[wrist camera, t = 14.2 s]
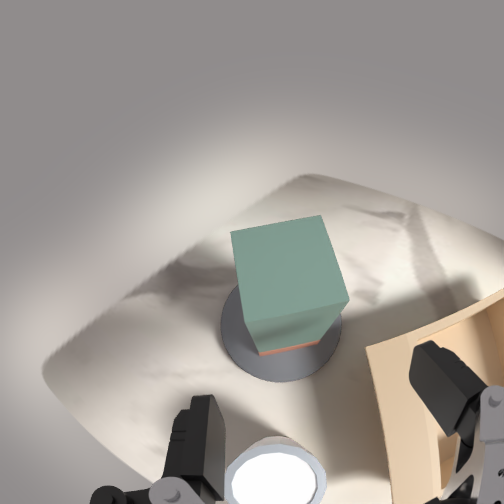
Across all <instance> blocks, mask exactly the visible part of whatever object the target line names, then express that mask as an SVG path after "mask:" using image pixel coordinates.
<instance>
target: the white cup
mask: <svg viewBox="0 0 504 504" xmlns="http://www.w3.org/2000/svg"><path fill="white" fill-rule="evenodd" d="M326 488H327V482H326V471H325V470H324V469H323V467H322V466H321V464H320V463H319V461H318V460H317V458H316V457H315V456H314V455H312V454H311V453H310V452H309V451H307V450H306V449H305V448H304V447H303V446H301V445H300V444H299V443H297V442H296V441H294V440H292V439H291V438H287V437H282V436H272V437H265V438H263V439H261V440H259V441H257V442H255V443H254V444H253V445H251V446H250V447H249V448H248V449H246V450H245V451H244V452H243V453H241V454H240V455H239V456H238V457H237V458H236V459H235V460H234V461H233V462H232V463H231V464H230V465H229V466H228V468H227V470H226V473H225V482H224V496H225V499H226V500H227V501H228V503H229V504H319V503H320V502H321V500H322V498H323V495H324V493H325V491H326Z"/></svg>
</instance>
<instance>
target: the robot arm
mask: <svg viewBox="0 0 504 504" xmlns="http://www.w3.org/2000/svg"><path fill="white" fill-rule="evenodd" d="M409 381H410V384H411V386H412V387H413V389H414V390H415V392H416V393H417V394H418V396H419V397H420V398H421V400H422V401H423V403H424V404H425V405H426V407H427V408H428V410H429V411H430V413H431V414H432V415H433V417H434V418H435V420H436V421H437V423H438V424H439V425H440V427H441V428H442V430H443V431H444V433H445V434H446V436H447V437H450V436H451V435H453V434H455V433H456V432H457V433H458V434H459V437H458V439H457V445H456V452H455V458H454V463H453V468H452V473H451V477H450V480H449V482H448V484H447V486H446V488H445V490H444V492H443V495H442V498H441V500H439V499H438V497H435V498H433V499H431V500H430V501H428V502H426V503H424V504H504V387H502V386H498V385H493V386H487V385H486V384H485V383H484V382H483V381H482V380H481V379H480V378H479V377H478V375H477V374H476V373H475V372H474V371H473V370H472V369H471V368H470V367H469V366H466V364H465V363H464V362H463V361H462V360H460V358H459V357H458V356H457V355H456V354H455V353H454V352H453V351H451V350H449V349H446V348H444V347H442V348H440V347H439V346H438V345H437V344H436V343H435V342H434V341H432V340H429V341H426V342H424V343H422V344H419V345H417V346H415V347H414V349H413V354H412V359H411V365H410V370H409ZM224 482H225V424H224V420H223V417H222V415H221V412H220V410H219V407H218V405H217V403H216V400H215V398H214V396H213V395H212V394H211V395H200V396H193V397H192V400H191V405H190V409H188V410H181V411H180V412H179V414H178V415H177V417H176V418H175V419H174V423H173V427H172V433H171V437H170V442H169V446H168V451H167V456H166V461H165V467H164V472H163V475H162V477H161V479H159V480H158V481H156V482H155V483H154V484H153V485H152V486H151V488H148V489H144V490H138V491H131V492H123V491H121V490H120V489H118V488H117V487H114V486H102V487H100V488H98V489H97V490H95V492H94V493H93V494H92V497H91V500H90V504H215V501H224Z"/></svg>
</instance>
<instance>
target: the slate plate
mask: <svg viewBox="0 0 504 504" xmlns="http://www.w3.org/2000/svg"><path fill="white" fill-rule="evenodd" d="M341 325H342V323H341V314H339V315H338V317H337V318H336V319H335V321H334V322H333V323H332V325H331V326H330V327H329V329H328V330H327V331H326V333H325V334H324V335H323V336H322V338H321V339H320V342H319V343H318V344H317V345H313V346H308V347H304V348H299V349H295V350H290V351H286V352H281V353H276V354H271V355H265V356H260V355H259V353H258V349H257V347H256V345H255V343H254V341H253V339H252V337H251V335H250V333H249V331H248V329H247V326H246V324H245V321H244V315H243V309H242V303H241V297H240V291H239V285H237V286H236V287H235V289H234V290H233V291H232V292H231V294H230V295H229V297H228V299H227V301H226V303H225V306H224V308H223V312H222V317H221V333H222V338H223V342H224V345H225V347H226V349H227V351H228V353H229V355H230V356H231V358H232V359H233V360H234V361H235V362H236V364H237V365H238V366H239V367H241V368H242V369H243V370H244V371H246V372H247V373H249V374H251V375H252V376H254V377H257V378H259V379H262V380H265V381H270V382H291V381H295V380H299V379H302V378H304V377H307V376H309V375H310V374H312V373H314V372H316V371H317V370H318V369H319V368H321V367H322V366H323V365H324V364H325V363H326V362H327V361H328V360H329V358H330V357H331V356H332V354H333V352H334V351H335V349H336V347H337V344H338V342H339V338H340V334H341Z"/></svg>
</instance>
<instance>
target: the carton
mask: <svg viewBox="0 0 504 504" xmlns="http://www.w3.org/2000/svg"><path fill="white" fill-rule="evenodd" d="M429 340H432V341H434V342H435V343H436V344H437V345H438V346H439V347H440V348H442V347H444V348H446V349H449V350H451V351H453V352H454V353H455V354H456V355H457V356H458V357H459V358H460V360H462V361H463V362H464V363H465V364H466V366H469V367H470V368H471V369H472V370H473V371H474V372H475V373H476V374H477V375H478V377H479V378H480V379H481V380H482V381H483V382H484V383H485V384H486V385H487V386H493V385H498V386H502V387H504V288H503V289H501V290H499V291H498V292H496V293H494V294H492V295H490V296H488V297H486V298H485V299H483V300H481V301H479V302H477V303H475V304H473V305H471V306H469V307H467V308H465V309H462V310H460V311H458V312H456V313H454V314H452V315H449V316H447V317H445V318H443V319H440V320H438V321H436V322H433V323H431V324H428V325H426V326H423V327H421V328H418V329H416V330H413V331H411V332H408V333H405V334H403V335H400V336H397V337H394V338H392V339H389V340H386V341H383V342H380V343H377V344H374V345H371V346H367V347H365V352H366V356H367V360H368V364H369V368H370V372H371V377H372V381H373V385H374V390H375V394H376V399H377V404H378V409H379V414H380V419H381V424H382V430H383V435H384V441H385V447H386V454H387V461H388V468H389V476H390V485H391V495H392V504H424V503H426V502H428V501H430V500H431V499H433V498H435V497H438V498H440V497H441V496H442V495H443V492H444V490H445V488H446V486H447V484H448V482H449V480H450V477H451V473H452V468H453V463H454V458H455V452H456V445H457V439H458V437H459V434H458V433H457V432H456V433H455V434H453V435H451V436H450V437H447V436H446V434H445V433H444V431H443V430H442V428H441V427H440V425H439V424H438V423H437V421H436V420H435V418H434V417H433V415H432V414H431V413H430V411H429V410H428V408H427V407H426V405H425V404H424V403H423V401H422V400H421V398H420V397H419V396H418V394H417V393H416V392H415V390H414V389H413V387H412V386H411V384H410V381H409V370H410V365H411V359H412V354H413V349H414V347H415V346H417V345H419V344H422V343H424V342H426V341H429Z"/></svg>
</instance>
